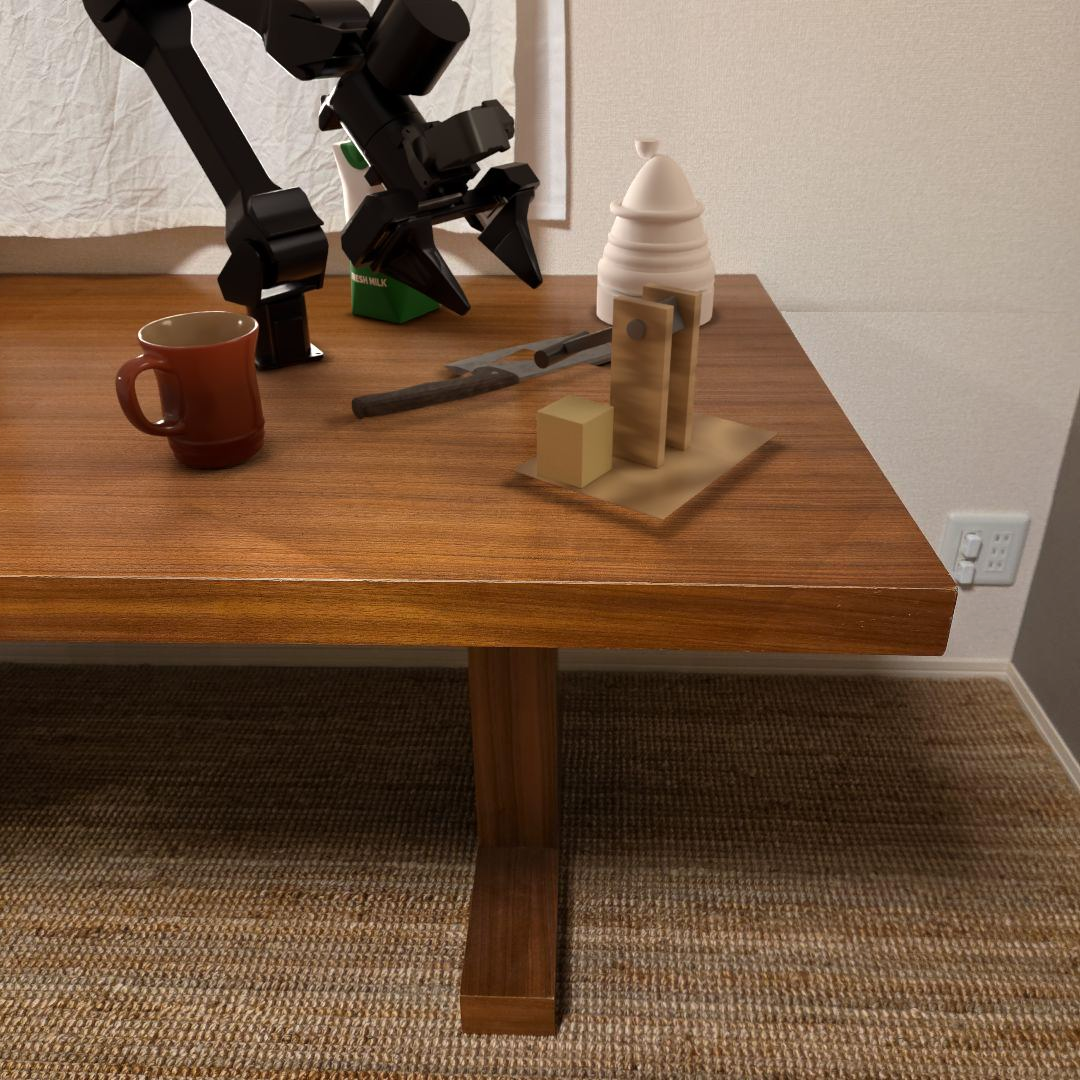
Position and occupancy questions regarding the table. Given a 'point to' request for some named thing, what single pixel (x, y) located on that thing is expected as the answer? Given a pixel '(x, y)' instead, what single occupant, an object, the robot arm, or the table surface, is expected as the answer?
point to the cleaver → (473, 379)
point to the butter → (574, 440)
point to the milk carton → (369, 289)
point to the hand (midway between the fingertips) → (504, 298)
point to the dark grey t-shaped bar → (591, 340)
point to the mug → (200, 387)
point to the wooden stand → (660, 411)
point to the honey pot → (656, 237)
